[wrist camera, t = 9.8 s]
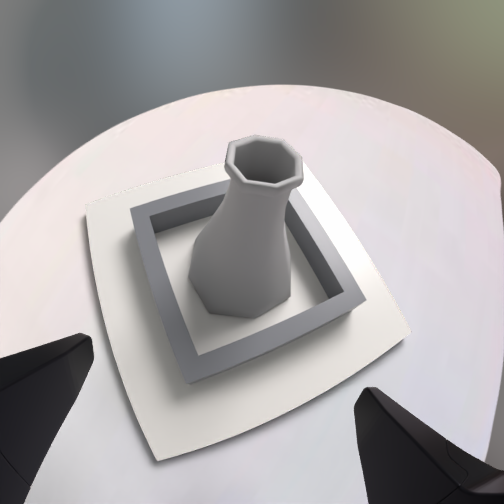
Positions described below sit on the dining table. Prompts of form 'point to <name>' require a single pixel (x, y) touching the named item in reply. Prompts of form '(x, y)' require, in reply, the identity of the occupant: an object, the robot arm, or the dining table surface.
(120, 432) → the dining table surface
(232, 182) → the flask
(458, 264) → the dining table surface
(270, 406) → the collar board
